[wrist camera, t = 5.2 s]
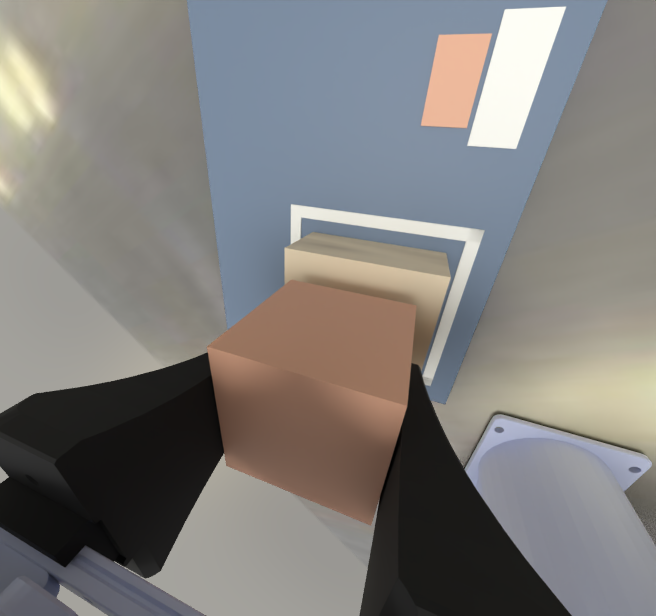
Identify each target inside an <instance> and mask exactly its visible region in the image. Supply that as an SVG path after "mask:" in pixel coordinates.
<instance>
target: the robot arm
mask: <svg viewBox="0 0 656 616" xmlns="http://www.w3.org/2000/svg"><path fill="white" fill-rule="evenodd" d="M496 427H501V428H496ZM223 454H224V448H223V442H222V436H221V430H220V423H219V417H218V411H217V405H216V399H215V393H214V387H213V381H212V375H211V369H210V362H209V356H208V353H205V354H203V355H200V356H198V357H195V358H193V359H190V360H187V361H184V362H181V363H178V364H175V365H172V366H169V367H166V368H163V369H159V370H156V371H152V372H148V373H144V374H140V375H137V376H133V377H129V378H125V379H120V380H115V381H111V382H106V383H101V384H95V385H90V386H84V387H78V388H72V389H64V390H58V391H51V392H44V393H36V394H33V395H31V396H29V397H28V398H26V399H24V400H23V401H21V402H19V403H18V404H16V405H14V406H12V407H11V408H9V409H7V410H6V411H4V412H2V413H0V467H1V468H2V469H3V470H4V471H5V472H6V474H7V475H8V476H9V478H7V479H6V480H5V481H3V482H2V483H0V616H78V615H77V614H76V613H75V612H74V611H73V610H72V609H70V608H69V607H68V606H66V605H65V604H64V603H62V602H61V601H59V600H58V599H57V595H58V592H59V588H60V585H59V584H61V585H62V586H64V587H65V588H67V589H68V590H70V591H71V592H73V593H74V594H76V595H77V596H79V597H81V598H82V599H84V600H85V601H87V602H88V603H90V604H91V605H93V606H95V607H96V608H98V609H99V610H101V611H102V612H104V613H105V614H107V615H108V616H206V615H204V614H202V613H201V612H199V611H197V610H195V609H194V608H192V607H190V606H188V605H187V604H185V603H183V602H182V601H180V600H178V599H176V598H175V597H173V596H171V595H169V594H168V593H166V592H165V591H163V590H161V589H159V588H158V587H156V586H154V585H152V584H151V583H149V582H147V581H145V580H144V579H142V578H140V577H139V576H137V575H135V574H134V573H132V572H130V571H128V570H127V569H125V568H123V567H122V566H124V567H126V568H128V569H130V570H132V571H133V572H135V573H137V574H139V575H140V576H142V577H144V578H149V577H151V576H153V575H155V574H156V573H158V572H160V571H161V569H162V567H163V565H164V563H165V561H166V559H167V557H168V555H169V553H170V551H171V549H172V547H173V545H174V543H175V541H176V539H177V537H178V535H179V533H180V531H181V529H182V527H183V525H184V523H185V521H186V519H187V518H188V515H189V514H190V512H191V510H192V508H193V507H194V505H195V503H196V501H197V499H198V497H199V495H200V494H201V492H202V490H203V488H204V486H205V485H206V483H207V481H208V479H209V478H210V476H211V474H212V473H213V471H214V469H215V467H216V465H217V464H218V462H219V461H220V459H221V457H222V456H223ZM651 466H652V462H651V461H650V460H649V458H648V457H647V456H646V455H644V454H641V453H638V452H634V451H631V450H627V449H624V448H620V447H616V446H613V445H609V444H606V443H602V442H599V441H595V440H592V439H588V438H584V437H581V436H577V435H574V434H570V433H567V432H563V431H560V430H556V429H552V428H549V427H545V426H542V425H538V424H535V423H531V422H528V421H524V420H520V419H517V418H513V417H510V416H506V415H501V414H498V415H495V416H493V417H492V419H491V421H490V423H489V425H488V426H487V428H486V430H485V432H484V434H483V436H482V438H481V440H480V441H479V443H478V445H477V447H476V449H475V451H474V453H473V454H472V456H471V458H470V460H469V462H468V464H467V466H466V467H465V469H464V468H463V466H462V464H461V463H460V461H459V459H458V457H457V456H456V454H455V452H454V450H453V448H452V446H451V444H450V443H449V441H448V439H447V437H446V435H445V432H444V430H443V428H442V426H441V424H440V422H439V420H438V417H437V415H436V413H435V410H434V408H433V405H432V403H431V400H430V398H429V395H428V392H427V389H426V387H425V384H424V380H423V377H422V373H421V369H420V367H419V365H417V364H413V363H411V372H410V382H409V393H408V404H407V409H406V412H405V415H404V419H403V422H402V425H401V428H400V432H399V435H398V438H397V442H396V445H395V448H394V452H393V455H392V458H391V461H390V465H389V468H388V471H387V475H386V478H385V481H384V485H383V488H382V491H381V494H380V500H379V506H378V512H377V518H376V524H375V530H374V536H373V542H372V547H371V553H370V559H369V565H368V571H367V576H366V582H365V588H364V594H363V599H362V605H361V610H360V616H656V545H655V544H654V542H653V540H652V539H651V537H650V535H649V534H648V532H647V530H646V529H645V527H644V525H643V523H642V522H641V520H640V518H639V517H638V515H637V513H636V512H635V510H634V508H633V507H632V505H631V503H630V502H629V500H628V498H627V497H626V495H625V493H624V491H625V490H626V489H627V488H629V487H630V486H631V485H632V484H633V483H634V482H635V481H636V480H637V479H638V478H639V477H641V476H642V475H643V474H644V473H645V472H646V471H647V470H648V469H649V468H650V467H651ZM114 561H115V562H117V563H119V564H120V565H122V566H120V565H118V564H116V563H115V562H114Z"/></svg>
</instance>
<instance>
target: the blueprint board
mask: <svg viewBox="0 0 656 616" xmlns="http://www.w3.org/2000/svg"><path fill="white" fill-rule="evenodd" d="M606 3H607V0H187V5H188V13H189V21H190V29H191V37H192V45H193V53H194V61H195V70H196V78H197V86H198V94H199V102H200V110H201V118H202V126H203V134H204V143H205V151H206V159H207V167H208V175H209V183H210V191H211V199H212V207H213V216H214V224H215V232H216V240H217V248H218V256H219V264H220V272H221V280H222V289H223V297H224V305H225V313H226V321H227V329H228V330H229V329H230V328H231V327H232V326H234V325H235V324H236V323H237V322H239V321H240V320H241V319H242V318H244V317H245V316H246V315H247V314H249V313H250V312H251V311H252V310H254V309H255V308H256V307H257V306H259V305H260V304H261V303H262V302H264V301H265V300H266V299H268V298H269V297H270V296H271V295H273V294H274V293H275V292H276V291H278V290H279V289H280V288H281V287H283V286H284V285H285V247H287V246H289V245H291V244H292V243H294V242H296V241H298V240H299V239H301V238H303V237H305V236H307V235H308V234H310V233H312V232H317V233H323V234H329V235H336V236H342V237H348V238H355V239H361V240H367V241H374V242H380V243H386V244H393V245H399V246H405V247H412V248H418V249H424V250H431V251H437V252H443V253H446V254H447V259H448V265H449V270H450V276H451V279H450V282H449V285H448V288H447V291H446V295H445V298H444V301H443V304H442V307H441V310H440V314H439V317H438V320H437V323H436V326H435V329H434V333H433V336H432V339H431V342H430V345H429V348H428V352H427V355H426V358H425V361H424V364H423V368H422V371H421V373H422V377H423V380H424V384H425V387H426V389H427V392H428V395H429V398H430V400H431V401H435V402H438V403H442V404H446V401H447V399H448V396H449V394H450V391H451V389H452V386H453V384H454V381H455V379H456V376H457V374H458V371H459V369H460V366H461V364H462V361H463V359H464V356H465V354H466V351H467V349H468V346H469V344H470V341H471V339H472V336H473V334H474V331H475V329H476V326H477V324H478V321H479V319H480V317H481V314H482V312H483V309H484V307H485V304H486V302H487V299H488V297H489V294H490V292H491V289H492V287H493V284H494V282H495V279H496V277H497V274H498V272H499V269H500V267H501V264H502V262H503V259H504V257H505V254H506V252H507V249H508V247H509V244H510V242H511V239H512V237H513V234H514V232H515V229H516V227H517V224H518V222H519V219H520V217H521V214H522V212H523V209H524V207H525V204H526V202H527V200H528V197H529V195H530V192H531V190H532V187H533V185H534V182H535V180H536V177H537V175H538V172H539V170H540V167H541V165H542V162H543V160H544V157H545V155H546V152H547V150H548V147H549V145H550V142H551V140H552V137H553V135H554V132H555V130H556V127H557V125H558V122H559V120H560V117H561V115H562V112H563V110H564V107H565V105H566V102H567V100H568V97H569V95H570V92H571V90H572V87H573V85H574V83H575V80H576V78H577V75H578V73H579V70H580V68H581V65H582V63H583V60H584V58H585V55H586V53H587V50H588V48H589V45H590V43H591V40H592V38H593V35H594V33H595V30H596V28H597V25H598V23H599V20H600V18H601V15H602V13H603V10H604V8H605V5H606Z"/></svg>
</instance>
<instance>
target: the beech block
mask: <svg viewBox="0 0 656 616" xmlns="http://www.w3.org/2000/svg"><path fill="white" fill-rule="evenodd" d="M450 279H451V276H450V270H449V265H448V259H447V254H446V253H443V252H437V251H431V250H424V249H418V248H412V247H405V246H399V245H393V244H386V243H380V242H374V241H367V240H361V239H355V238H348V237H342V236H336V235H329V234H323V233H317V232H312V233H310V234H308V235H307V236H305V237H303V238H301V239H299V240H298V241H296V242H294V243H292V244H291V245H289V246H287V247H285V284H286V283H288V282H289V281H290V280H296V281H300V282H305V283H310V284H315V285H320V286H325V287H330V288H334V289H339V290H344V291H349V292H354V293H359V294H364V295H368V296H373V297H378V298H383V299H388V300H393V301H397V302H402V303H407V304H412V305H417V307H416V317H415V328H414V339H413V350H412V361H411V363H413V364H417V365H419V367H420V369H421V371H422V368H423V364H424V361H425V358H426V355H427V352H428V348H429V345H430V342H431V339H432V336H433V333H434V329H435V326H436V323H437V320H438V317H439V314H440V310H441V307H442V304H443V301H444V298H445V295H446V291H447V288H448V285H449V282H450Z"/></svg>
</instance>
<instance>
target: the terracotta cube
mask: <svg viewBox="0 0 656 616" xmlns="http://www.w3.org/2000/svg"><path fill="white" fill-rule="evenodd" d="M416 307H417V305H412V304H407V303H402V302H397V301H393V300H388V299H383V298H378V297H373V296H368V295H364V294H359V293H354V292H349V291H344V290H339V289H334V288H330V287H325V286H320V285H315V284H310V283H305V282H300V281H296V280H290V281H289V282H288V283H286V284H285V285H284V286H283V287H281V288H280V289H279V290H278V291H276V292H275V293H274V294H273V295H271V296H270V297H269V298H268V299H266V300H265V301H264V302H262V303H261V304H260V305H259V306H257V307H256V308H255V309H254V310H252V311H251V312H250V313H249V314H247V315H246V316H245V317H244V318H242V319H241V320H240V321H239V322H237V323H236V324H235V325H234V326H232V327H231V328H230V329H229V330H227V331H226V332H225V333H224V334H222V335H221V336H220V337H218V338H217V339H216V340H215V341H213V342H212V343H211V344H210V345H208V346H207V350H208V356H209V362H210V369H211V375H212V381H213V387H214V393H215V399H216V405H217V411H218V417H219V423H220V430H221V436H222V442H223V448H224V454H225V460H226V465H227V466H228V467H231V468H233V469H235V470H238V471H240V472H243V473H245V474H248V475H251V476H252V477H255V478H257V479H260V480H262V481H264V482H267V483H269V484H272V485H274V486H277V487H279V488H282V489H284V490H286V491H289V492H291V493H293V494H296V495H298V496H301V497H303V498H306V499H308V500H310V501H313V502H315V503H318V504H320V505H322V506H325V507H327V508H330V509H332V510H335V511H337V512H339V513H342V514H344V515H347V516H349V517H351V518H354V519H356V520H359V521H361V522H364V523H366V524H368V525H371V524H372V521H373V518H374V514H375V511H376V508H377V504H378V501H379V498H380V494H381V491H382V488H383V485H384V481H385V478H386V475H387V471H388V468H389V465H390V461H391V458H392V455H393V452H394V448H395V445H396V442H397V438H398V435H399V432H400V428H401V425H402V422H403V419H404V415H405V412H406V409H407V404H408V393H409V382H410V372H411V361H412V350H413V339H414V328H415V317H416Z"/></svg>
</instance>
